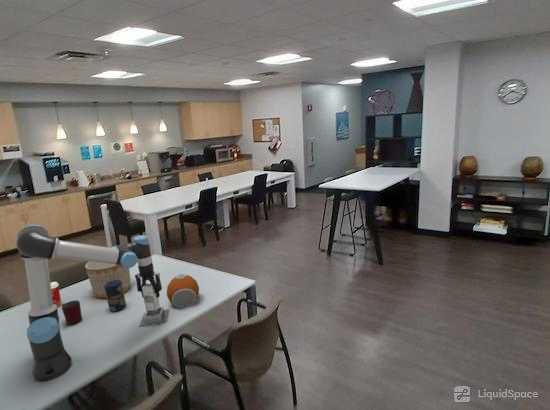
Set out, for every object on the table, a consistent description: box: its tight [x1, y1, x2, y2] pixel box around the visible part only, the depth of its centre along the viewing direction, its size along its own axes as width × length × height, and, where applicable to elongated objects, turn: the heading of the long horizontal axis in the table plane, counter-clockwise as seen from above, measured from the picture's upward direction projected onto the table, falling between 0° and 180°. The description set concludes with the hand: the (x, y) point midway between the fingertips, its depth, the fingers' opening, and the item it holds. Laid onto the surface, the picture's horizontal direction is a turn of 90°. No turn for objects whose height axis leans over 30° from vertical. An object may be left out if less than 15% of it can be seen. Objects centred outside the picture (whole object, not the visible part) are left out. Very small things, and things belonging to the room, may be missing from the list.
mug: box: [61, 300, 83, 326], centre depth 199 cm, size 12×9×11 cm
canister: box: [104, 280, 127, 312], centre depth 208 cm, size 10×10×18 cm
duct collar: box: [139, 306, 170, 328], centre depth 195 cm, size 14×14×4 cm
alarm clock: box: [166, 273, 200, 308], centre depth 210 cm, size 19×18×17 cm
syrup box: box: [142, 282, 161, 312], centre depth 193 cm, size 6×6×14 cm
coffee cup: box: [50, 281, 62, 309], centre depth 218 cm, size 8×8×15 cm
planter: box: [84, 261, 131, 299], centre depth 232 cm, size 26×26×22 cm
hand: (152, 302), depth 193 cm, fingers closed on syrup box, 6 cm apart
